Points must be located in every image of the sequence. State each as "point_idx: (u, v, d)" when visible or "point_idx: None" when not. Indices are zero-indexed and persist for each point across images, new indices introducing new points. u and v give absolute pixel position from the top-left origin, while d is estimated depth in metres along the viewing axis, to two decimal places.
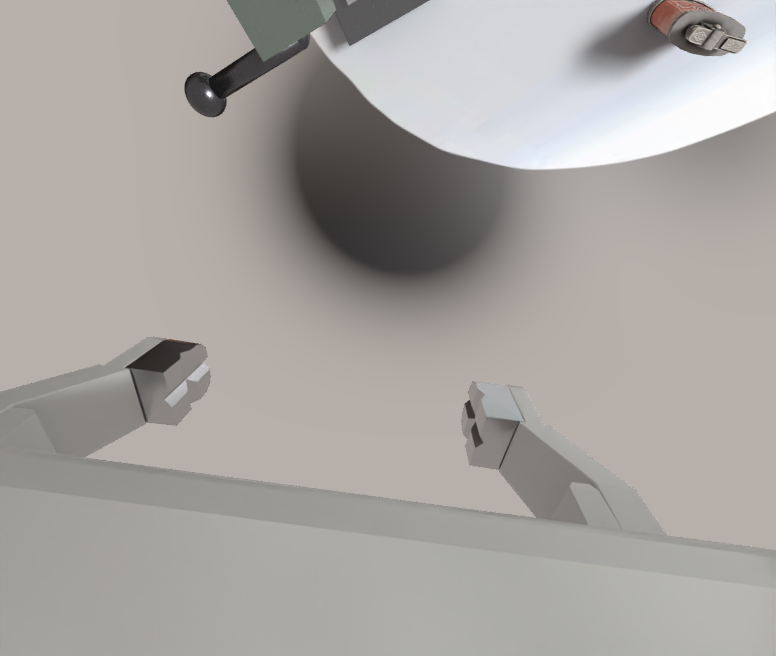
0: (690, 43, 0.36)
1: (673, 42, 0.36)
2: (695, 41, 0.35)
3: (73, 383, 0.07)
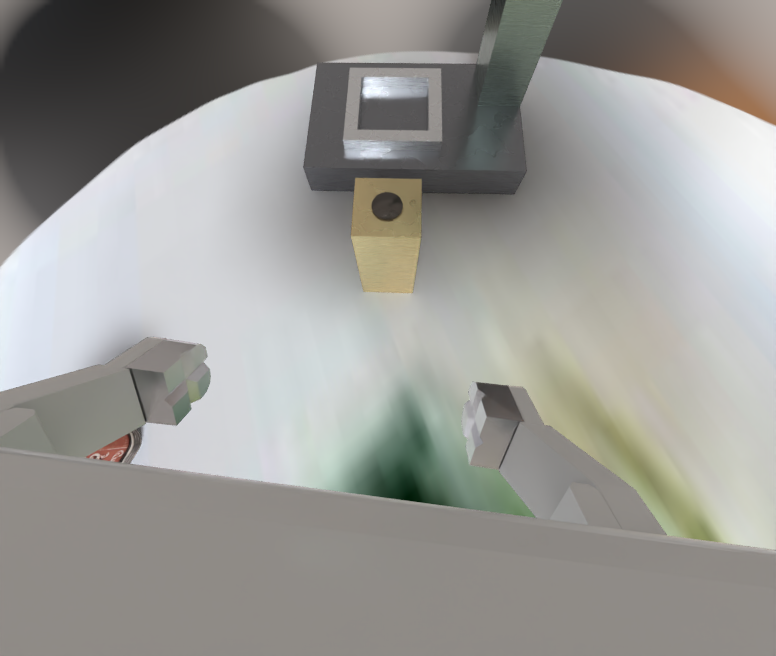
0: None
1: None
2: None
3: (73, 383, 0.07)
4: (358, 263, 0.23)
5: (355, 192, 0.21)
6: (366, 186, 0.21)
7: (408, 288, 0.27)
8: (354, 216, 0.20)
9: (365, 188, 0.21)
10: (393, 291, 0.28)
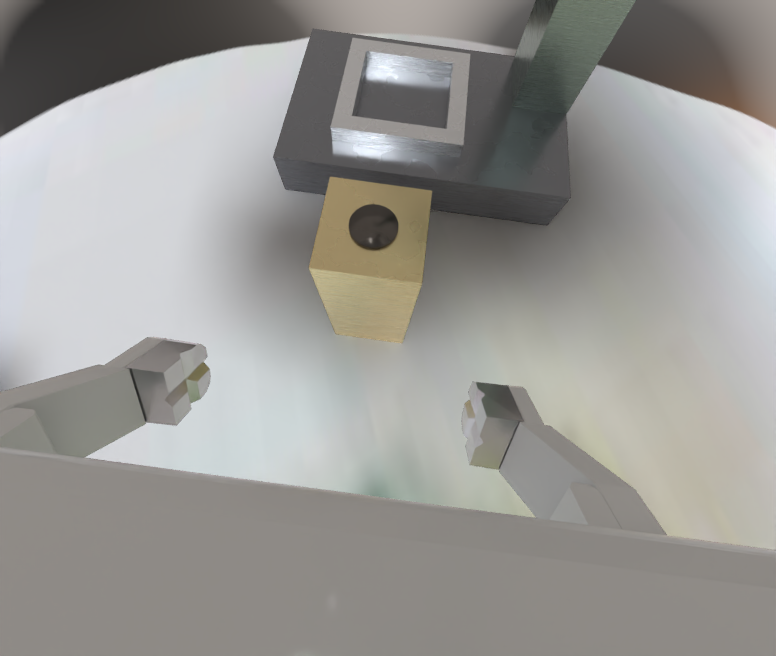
0: None
1: None
2: None
3: (73, 383, 0.07)
4: (325, 303, 0.16)
5: (326, 199, 0.13)
6: (345, 191, 0.13)
7: (397, 338, 0.20)
8: (319, 236, 0.13)
9: (342, 195, 0.13)
10: (376, 339, 0.21)
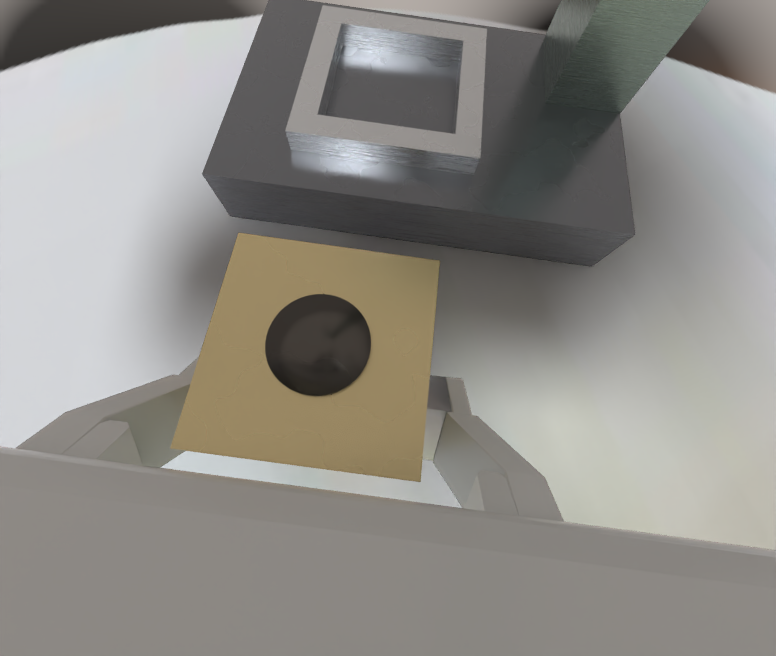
0: None
1: None
2: None
3: (155, 394, 0.07)
4: None
5: (227, 281, 0.06)
6: (267, 264, 0.07)
7: None
8: (202, 368, 0.06)
9: (260, 272, 0.07)
10: None
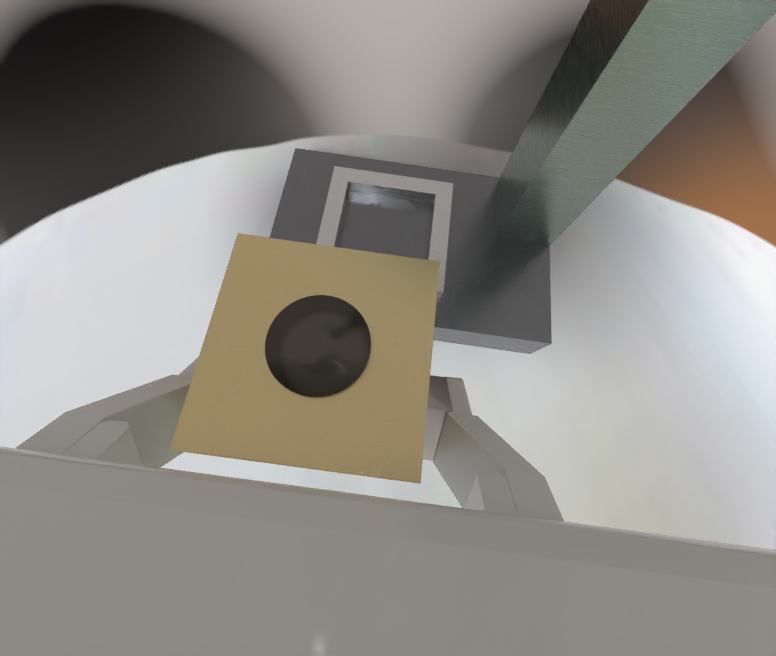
0: None
1: None
2: None
3: (155, 394, 0.07)
4: None
5: (226, 282, 0.06)
6: (266, 265, 0.07)
7: None
8: (202, 370, 0.06)
9: (260, 273, 0.07)
10: None
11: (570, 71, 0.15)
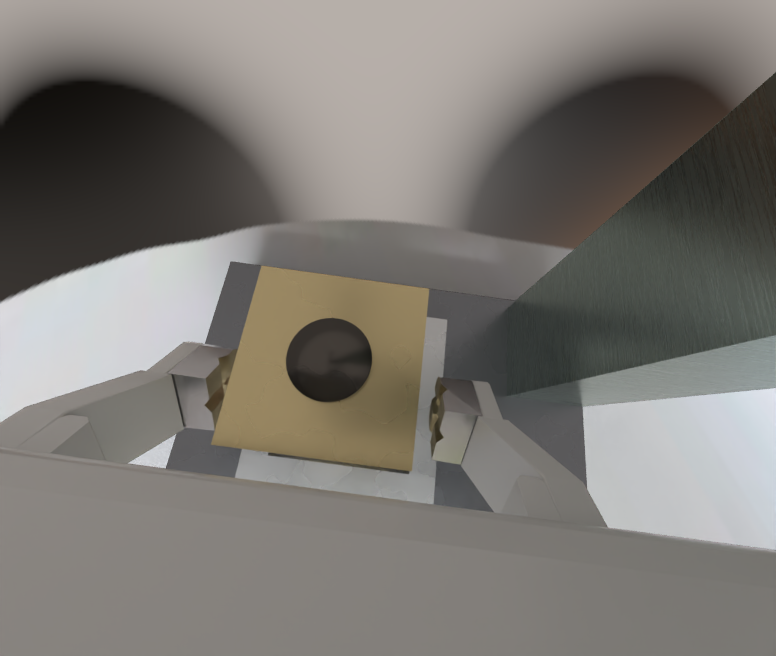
0: None
1: None
2: None
3: (120, 389, 0.07)
4: None
5: (253, 307, 0.08)
6: (285, 293, 0.08)
7: None
8: (235, 380, 0.07)
9: (280, 299, 0.08)
10: None
11: (652, 250, 0.08)
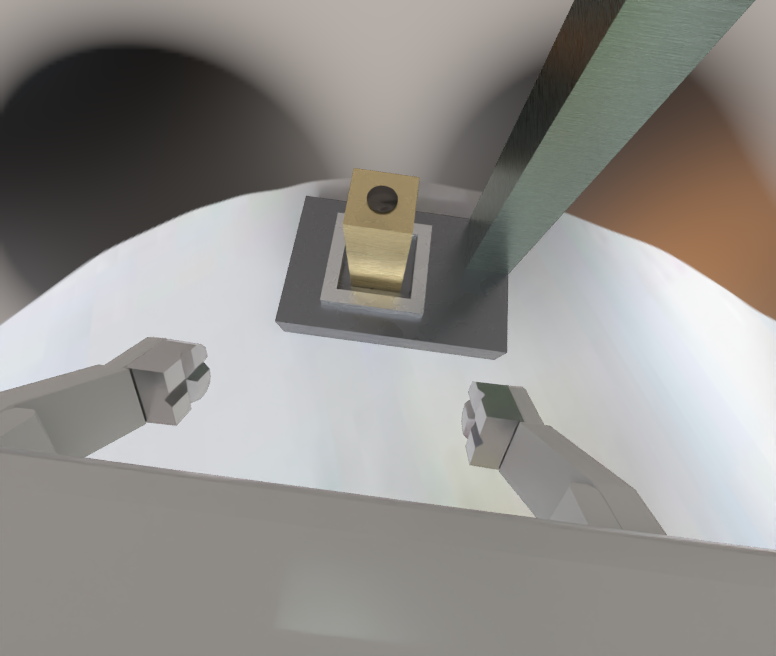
0: None
1: None
2: None
3: (73, 383, 0.07)
4: (348, 254, 0.23)
5: (352, 182, 0.21)
6: (364, 177, 0.21)
7: (396, 286, 0.27)
8: (348, 205, 0.20)
9: (362, 179, 0.21)
10: (381, 288, 0.28)
11: (507, 162, 0.21)
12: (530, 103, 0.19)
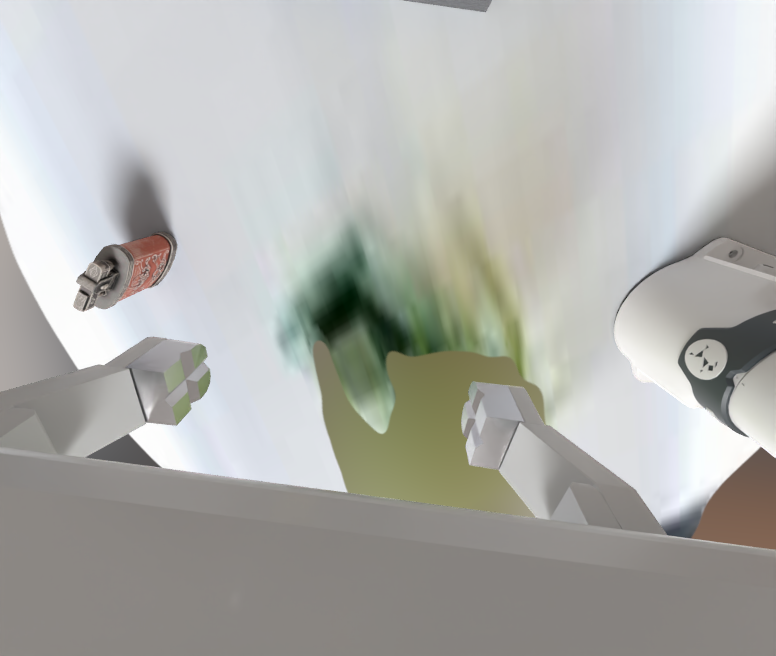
0: None
1: (102, 250, 0.31)
2: (88, 268, 0.30)
3: (73, 383, 0.07)
4: None
5: None
6: None
7: None
8: None
9: None
10: None
11: None
12: None
